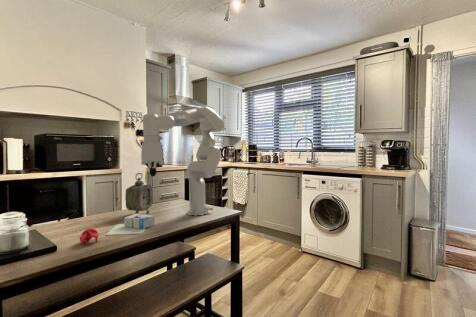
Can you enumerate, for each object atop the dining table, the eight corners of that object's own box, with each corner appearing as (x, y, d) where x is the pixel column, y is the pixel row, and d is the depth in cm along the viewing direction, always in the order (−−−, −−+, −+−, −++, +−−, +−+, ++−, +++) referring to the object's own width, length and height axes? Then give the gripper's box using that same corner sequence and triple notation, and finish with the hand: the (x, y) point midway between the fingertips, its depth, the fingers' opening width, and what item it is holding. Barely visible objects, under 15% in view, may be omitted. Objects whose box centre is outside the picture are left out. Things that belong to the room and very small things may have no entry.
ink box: (143, 219, 122) (123, 217, 126) (143, 229, 122) (123, 227, 126) (154, 214, 130) (135, 213, 134) (154, 224, 130) (136, 222, 134)
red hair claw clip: (102, 235, 106) (100, 225, 110) (87, 234, 102) (85, 223, 106) (93, 249, 108) (91, 238, 112) (77, 248, 103) (76, 237, 107)
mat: (149, 223, 133) (149, 223, 133) (142, 233, 117) (142, 233, 117) (117, 225, 131) (117, 224, 131) (105, 235, 115) (105, 234, 115)
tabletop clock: (139, 218, 143) (138, 174, 142) (124, 218, 144) (123, 174, 143) (152, 212, 157) (151, 171, 156) (138, 211, 159) (138, 171, 158)
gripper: (168, 139, 132) (169, 174, 133) (137, 139, 130) (139, 175, 131) (166, 139, 125) (167, 176, 126) (134, 139, 122) (135, 177, 123)
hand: (153, 175), depth 128 cm, fingers closed
